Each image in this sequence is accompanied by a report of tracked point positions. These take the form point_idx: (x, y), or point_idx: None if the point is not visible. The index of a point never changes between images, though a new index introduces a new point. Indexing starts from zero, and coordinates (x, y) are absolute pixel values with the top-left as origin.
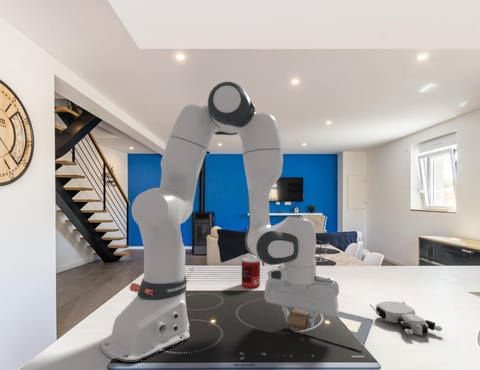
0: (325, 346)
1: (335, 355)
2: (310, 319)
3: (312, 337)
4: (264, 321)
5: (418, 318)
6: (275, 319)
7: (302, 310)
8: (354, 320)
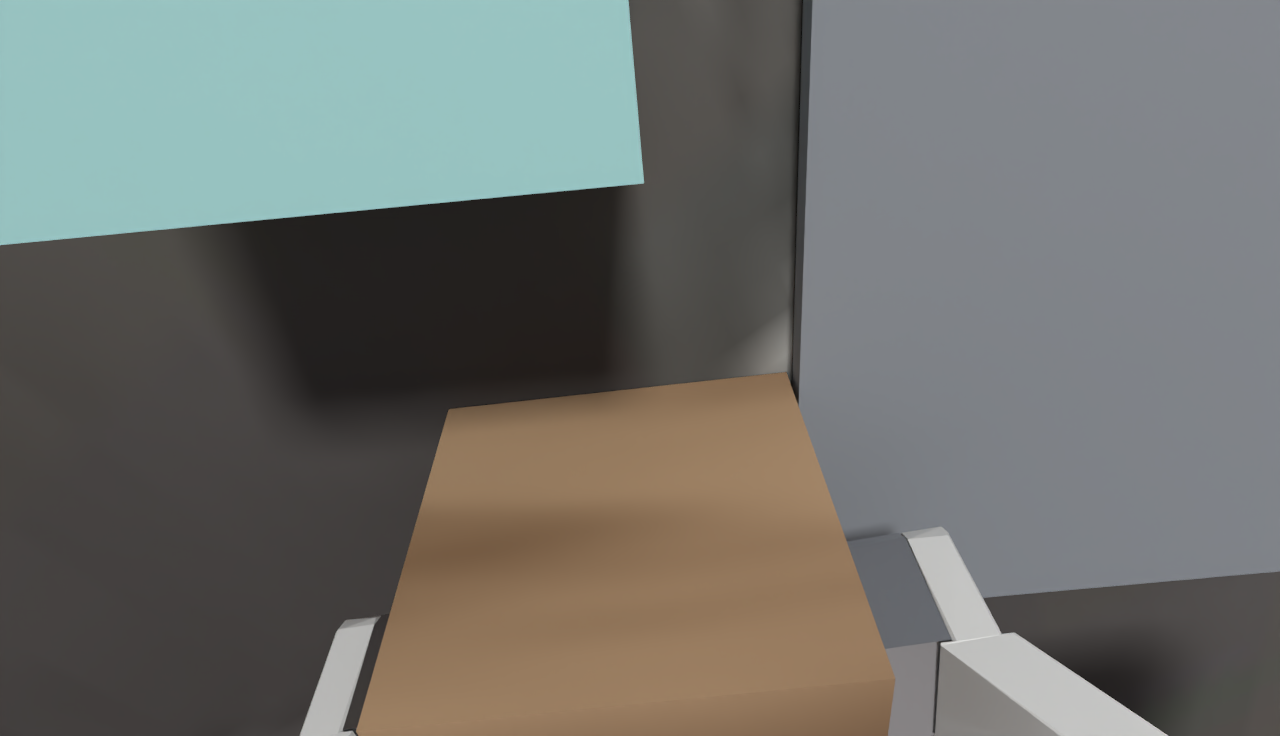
0: (1126, 648)
1: (1247, 713)
2: (914, 676)
3: None
4: (3, 632)
5: None
6: (28, 479)
7: (633, 708)
8: None
